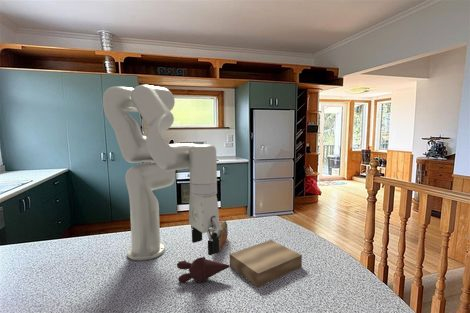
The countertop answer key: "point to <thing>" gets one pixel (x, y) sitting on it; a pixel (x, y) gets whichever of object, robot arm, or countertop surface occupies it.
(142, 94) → the robot arm
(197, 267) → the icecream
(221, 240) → the tin
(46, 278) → the countertop surface
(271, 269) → the base
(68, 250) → the countertop surface
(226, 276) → the countertop surface
